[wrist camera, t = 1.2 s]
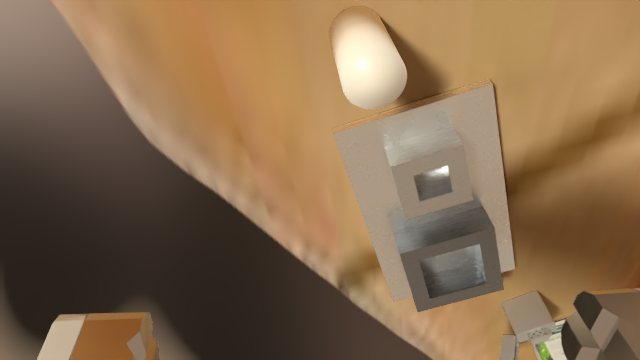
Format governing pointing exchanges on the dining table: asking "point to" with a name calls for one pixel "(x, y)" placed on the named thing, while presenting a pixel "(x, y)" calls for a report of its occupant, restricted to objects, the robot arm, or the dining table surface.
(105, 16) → the dining table surface
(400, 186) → the fitting board
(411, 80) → the dining table surface
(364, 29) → the white rounded cylinder
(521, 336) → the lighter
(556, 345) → the syrup box
